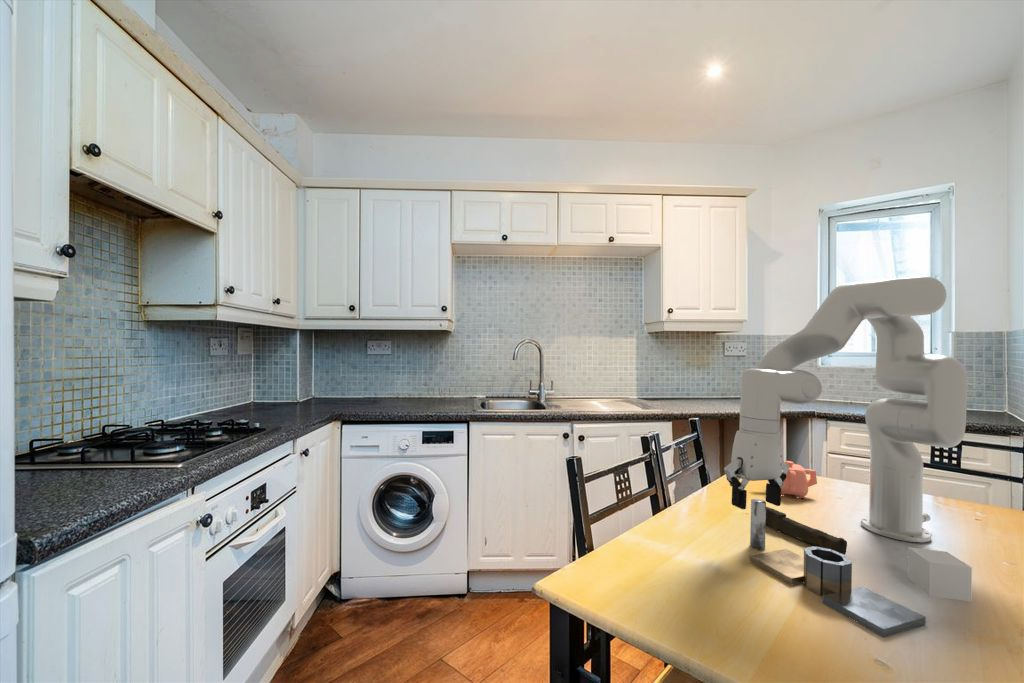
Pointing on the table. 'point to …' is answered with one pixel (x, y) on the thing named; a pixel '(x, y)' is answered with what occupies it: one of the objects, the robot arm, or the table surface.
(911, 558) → the light grey cube
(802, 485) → the teapot
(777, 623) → the table surface
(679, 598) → the table surface
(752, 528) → the hinge pin
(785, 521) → the hand tool
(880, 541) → the table surface
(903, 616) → the hinge
